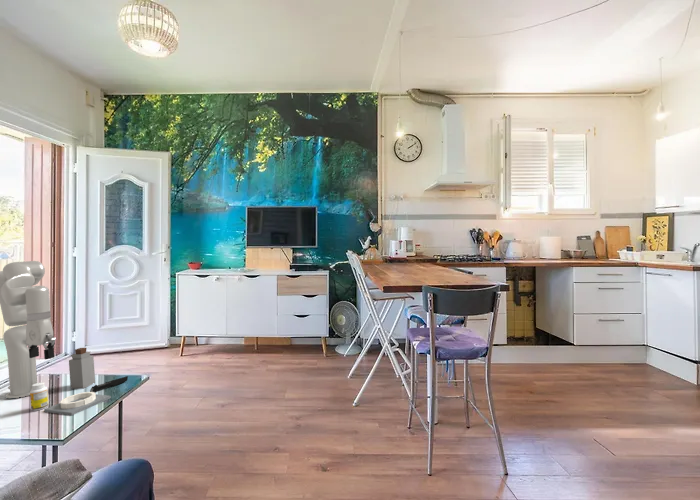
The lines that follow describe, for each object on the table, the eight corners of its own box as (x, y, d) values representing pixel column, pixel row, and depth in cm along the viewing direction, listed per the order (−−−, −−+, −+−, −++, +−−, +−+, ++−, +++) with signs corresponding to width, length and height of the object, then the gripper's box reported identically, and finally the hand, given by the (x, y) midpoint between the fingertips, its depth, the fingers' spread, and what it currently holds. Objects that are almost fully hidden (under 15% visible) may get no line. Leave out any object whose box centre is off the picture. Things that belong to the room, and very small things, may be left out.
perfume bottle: (83, 383, 177) (80, 346, 177) (95, 382, 176) (92, 346, 176) (70, 388, 170) (68, 350, 170) (83, 388, 169) (80, 350, 169)
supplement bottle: (34, 407, 150) (32, 383, 150) (50, 404, 153) (49, 380, 153) (28, 412, 145) (27, 387, 145) (46, 409, 148) (44, 384, 147)
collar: (44, 411, 145) (43, 404, 145) (84, 395, 160) (84, 388, 160) (71, 415, 140) (71, 407, 140) (110, 398, 155) (110, 391, 155)
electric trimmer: (129, 382, 175) (129, 376, 175) (92, 394, 162) (92, 387, 162) (126, 381, 177) (125, 375, 177) (89, 392, 164) (89, 385, 164)
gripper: (15, 318, 148) (18, 359, 149) (41, 319, 142) (44, 361, 143) (36, 314, 155) (39, 353, 156) (62, 315, 149) (65, 356, 150)
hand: (41, 357), depth 149 cm, fingers open, 9 cm apart
